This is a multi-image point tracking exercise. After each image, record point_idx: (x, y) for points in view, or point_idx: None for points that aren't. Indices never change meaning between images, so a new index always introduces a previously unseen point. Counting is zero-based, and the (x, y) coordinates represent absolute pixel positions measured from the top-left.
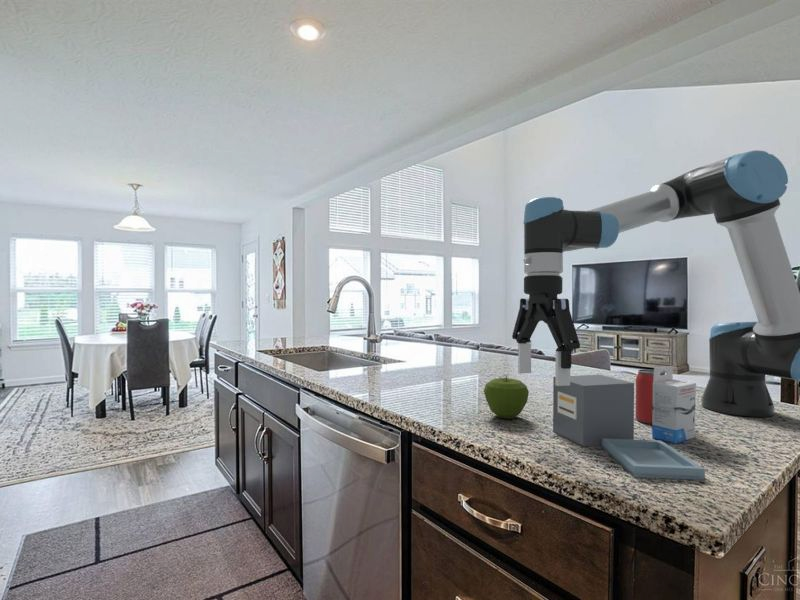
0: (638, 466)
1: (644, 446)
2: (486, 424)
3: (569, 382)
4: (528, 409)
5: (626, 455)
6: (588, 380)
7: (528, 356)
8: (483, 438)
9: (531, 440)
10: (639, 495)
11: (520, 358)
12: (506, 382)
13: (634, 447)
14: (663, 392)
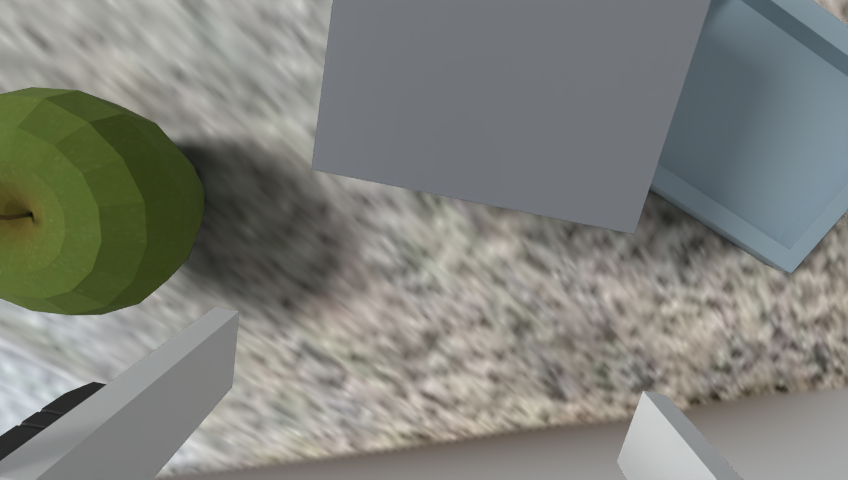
0: (799, 262)
1: None
2: None
3: (673, 409)
4: (74, 7)
5: (733, 216)
6: (528, 42)
7: (156, 402)
8: (343, 404)
9: (418, 294)
10: (825, 343)
11: (164, 461)
12: (64, 254)
13: None
14: None
